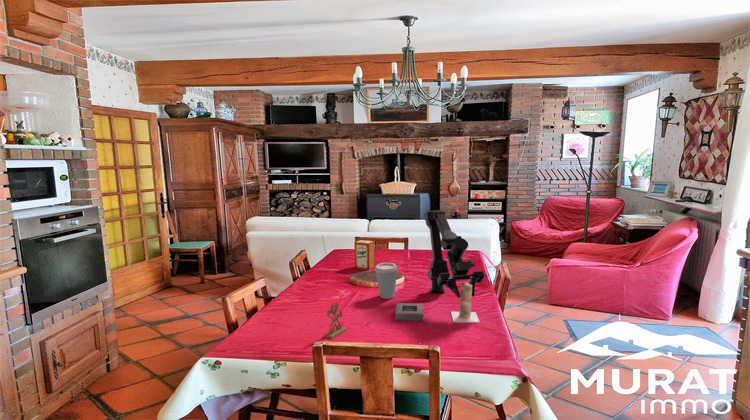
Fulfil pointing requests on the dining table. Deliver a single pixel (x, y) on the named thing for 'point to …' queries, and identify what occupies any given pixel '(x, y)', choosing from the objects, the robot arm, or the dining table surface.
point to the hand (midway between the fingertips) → (466, 297)
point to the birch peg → (465, 300)
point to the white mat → (459, 319)
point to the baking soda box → (364, 255)
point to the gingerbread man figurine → (338, 329)
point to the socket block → (409, 312)
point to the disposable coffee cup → (386, 279)
